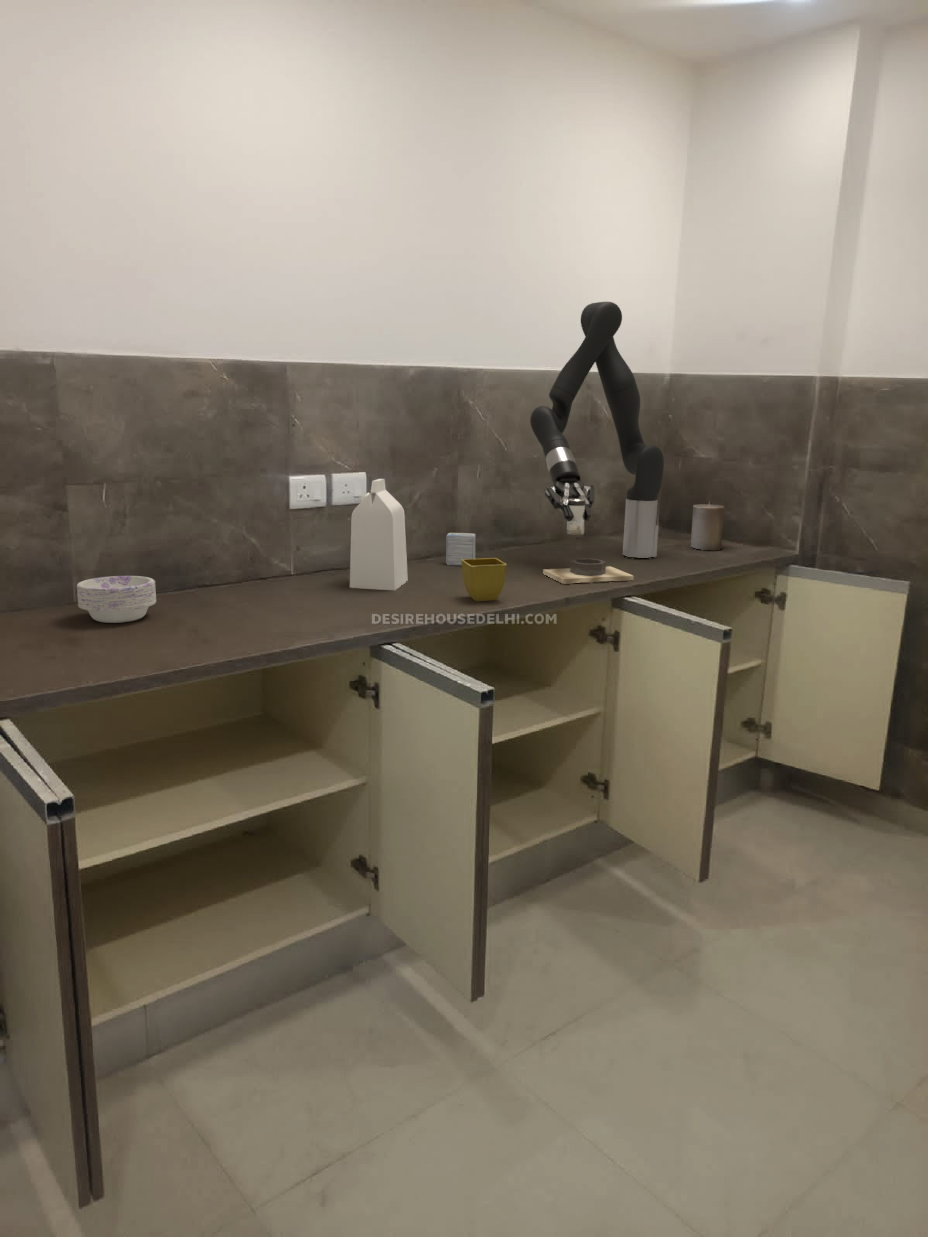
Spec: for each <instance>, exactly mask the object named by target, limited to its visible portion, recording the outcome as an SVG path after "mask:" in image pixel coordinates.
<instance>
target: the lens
mask: <svg viewBox="0 0 928 1237" xmlns="http://www.w3.org/2000/svg"><path fill="white" fill-rule="evenodd" d="M568 505H569V507H570V510H571V513H572V519H571V521H567V520H566V521H567V522H566V534H567V535H576V536H577V535H579V536H580V535H584V534H585V522H586V521H585V499H582V498H570V499H568Z"/></svg>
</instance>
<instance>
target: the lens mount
mask: <svg viewBox="0 0 928 1237" xmlns="http://www.w3.org/2000/svg"><path fill="white" fill-rule="evenodd" d="M543 574H544V575H547V576H548V577H550V578H553V579H554V580H556V581H559V582H561V583H564V584H566V583H580V582H594V581H621V580H633V581H634V575H633V574H630V573H628V572H625V571H623V570H622V569H621V570H620V569H618V568H616V567H613V566H607V562H606V561H605V560H603V559H597V558H588V557H587V558H574V559H572V560H570V567H569V568H567V567H566V568H549V569H545V568H544V569H542V575H543ZM544 575H543V576H544ZM548 577H547V578H548ZM550 578H549V579H550ZM554 580H553V581H554ZM556 581H555V582H556Z"/></svg>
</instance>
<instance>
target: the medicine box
mask: <svg viewBox="0 0 928 1237" xmlns="http://www.w3.org/2000/svg"><path fill="white" fill-rule="evenodd" d="M476 537H477V536H476V533H472V532H471V533H469V532H467V533H466V532H449V533H447V534H446V537H445V538H446V547H445V548H446V552H445V554H446V558H445V559H446V561H445V563H446V564H447V565H446V564H445V565H446V566H462V564H461V560H462V559H476Z"/></svg>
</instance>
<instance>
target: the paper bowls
mask: <svg viewBox="0 0 928 1237" xmlns="http://www.w3.org/2000/svg"><path fill="white" fill-rule="evenodd" d="M76 590H77V591H76V592H77V593H76V595H77V604H78V605H77V606H78V608H80V609H82V610H84V611H87V612H88V614H89V616H91V618H92V619H93V620H94V621H96V622H100V623H106V624H117V623H118V624H121V623H127V622H128V623H129V622H135V621H138V620H141V619H142V618H144V617H145V615H146V614H147V611H148V610H149V607H151V606H154V605H155V604H157V594H156V593H157V592H156V591H157V590H156V580H155V579H153V578H151V577H149V576H141V575H140V576H139V575H114V576H102V577H101V576H100V577H94V578H89V579H85V580H82V581H80V582H78V583H77V584H76Z"/></svg>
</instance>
